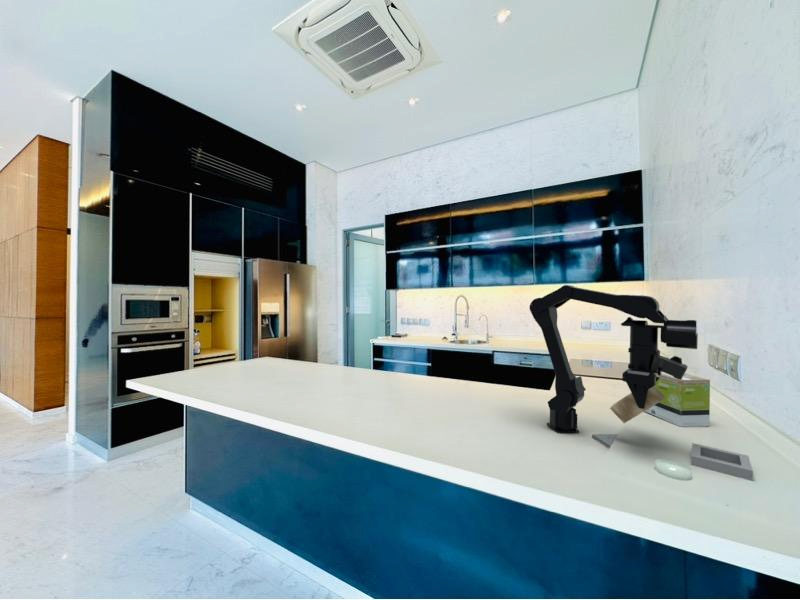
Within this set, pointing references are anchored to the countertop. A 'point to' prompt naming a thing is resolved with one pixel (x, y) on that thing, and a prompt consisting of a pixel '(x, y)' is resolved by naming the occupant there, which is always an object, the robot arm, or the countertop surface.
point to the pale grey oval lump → (673, 469)
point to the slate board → (605, 438)
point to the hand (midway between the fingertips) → (642, 406)
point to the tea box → (683, 400)
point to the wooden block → (635, 405)
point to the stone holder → (722, 461)
